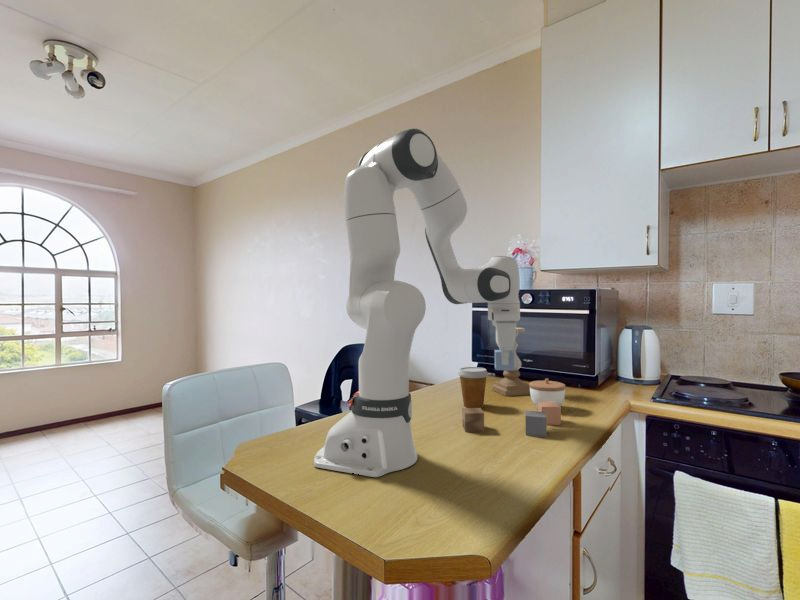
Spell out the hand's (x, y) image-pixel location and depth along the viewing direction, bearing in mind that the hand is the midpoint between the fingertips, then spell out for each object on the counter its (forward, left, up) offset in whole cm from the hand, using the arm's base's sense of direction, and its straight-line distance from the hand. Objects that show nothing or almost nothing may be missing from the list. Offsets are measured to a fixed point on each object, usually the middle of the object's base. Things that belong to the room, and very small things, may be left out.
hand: (504, 362), depth 110 cm
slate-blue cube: (0, 0, -2) cm, 2 cm away
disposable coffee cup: (-9, +16, -17) cm, 25 cm away
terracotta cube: (+12, +2, -17) cm, 21 cm away
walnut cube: (-9, -7, -17) cm, 20 cm away
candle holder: (+5, +37, -17) cm, 41 cm away
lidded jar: (+14, +16, -17) cm, 27 cm away
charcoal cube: (+7, -8, -17) cm, 20 cm away
